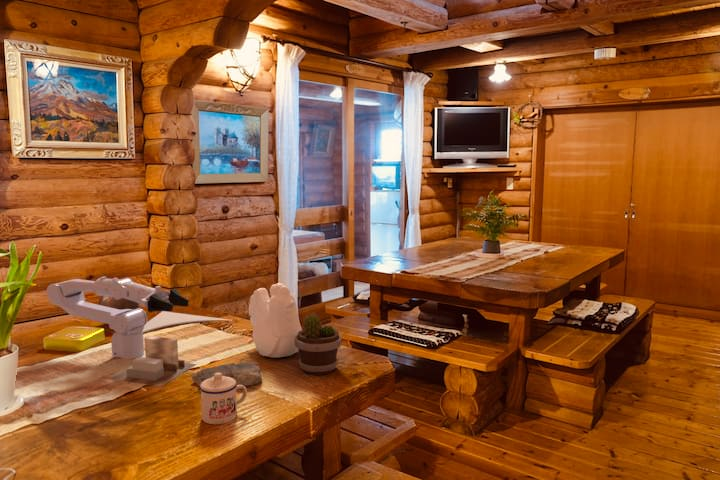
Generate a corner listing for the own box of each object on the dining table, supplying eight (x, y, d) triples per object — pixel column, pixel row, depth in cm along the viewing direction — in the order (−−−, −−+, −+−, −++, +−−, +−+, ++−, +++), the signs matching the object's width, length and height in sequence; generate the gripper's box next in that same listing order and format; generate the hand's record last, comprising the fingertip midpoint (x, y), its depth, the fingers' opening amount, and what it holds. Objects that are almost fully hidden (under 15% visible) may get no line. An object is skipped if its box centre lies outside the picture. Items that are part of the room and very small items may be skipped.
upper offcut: (132, 369, 167) (131, 361, 167) (140, 364, 171) (140, 356, 170) (155, 372, 165) (154, 363, 165) (163, 367, 168) (162, 359, 168)
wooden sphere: (91, 329, 217) (88, 291, 215) (112, 318, 232) (110, 282, 230) (128, 330, 216) (126, 292, 213) (147, 319, 230) (145, 283, 228)
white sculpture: (312, 358, 187) (311, 284, 183) (267, 367, 179) (265, 290, 175) (282, 337, 208) (280, 270, 204) (240, 344, 200) (238, 275, 196)
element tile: (107, 339, 207) (106, 326, 206) (80, 353, 192) (79, 339, 192) (70, 336, 210) (69, 324, 209) (41, 350, 195) (40, 337, 194)
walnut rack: (108, 382, 167) (107, 372, 166) (148, 361, 184) (148, 352, 183) (160, 389, 161) (160, 379, 161) (196, 367, 178) (196, 358, 178)
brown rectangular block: (146, 366, 176) (144, 338, 175) (151, 363, 179) (149, 335, 178) (173, 369, 174) (172, 341, 172) (178, 367, 176) (177, 339, 175)
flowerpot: (314, 357, 187) (313, 298, 184) (352, 367, 178) (351, 305, 175) (284, 371, 175) (282, 308, 172) (322, 382, 167) (322, 316, 164)
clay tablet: (194, 397, 157) (266, 385, 164) (193, 380, 157) (265, 369, 164) (190, 379, 170) (257, 369, 177) (189, 364, 170) (256, 354, 177)
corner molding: (232, 323, 230) (162, 314, 233) (232, 320, 229) (162, 311, 233) (202, 355, 201) (122, 344, 205) (202, 351, 200) (122, 340, 204)
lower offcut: (126, 376, 168) (126, 368, 168) (135, 371, 172) (135, 363, 172) (155, 380, 165) (154, 372, 165) (163, 375, 169) (163, 367, 169)
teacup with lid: (208, 429, 138) (206, 383, 136) (196, 414, 146) (194, 371, 144) (254, 416, 145) (252, 373, 143) (240, 403, 152) (239, 362, 151)
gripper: (130, 286, 174) (166, 297, 170) (161, 279, 187) (195, 289, 183) (127, 308, 175) (163, 319, 171) (159, 300, 188) (193, 310, 184)
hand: (180, 305), depth 177 cm, fingers open, 7 cm apart
